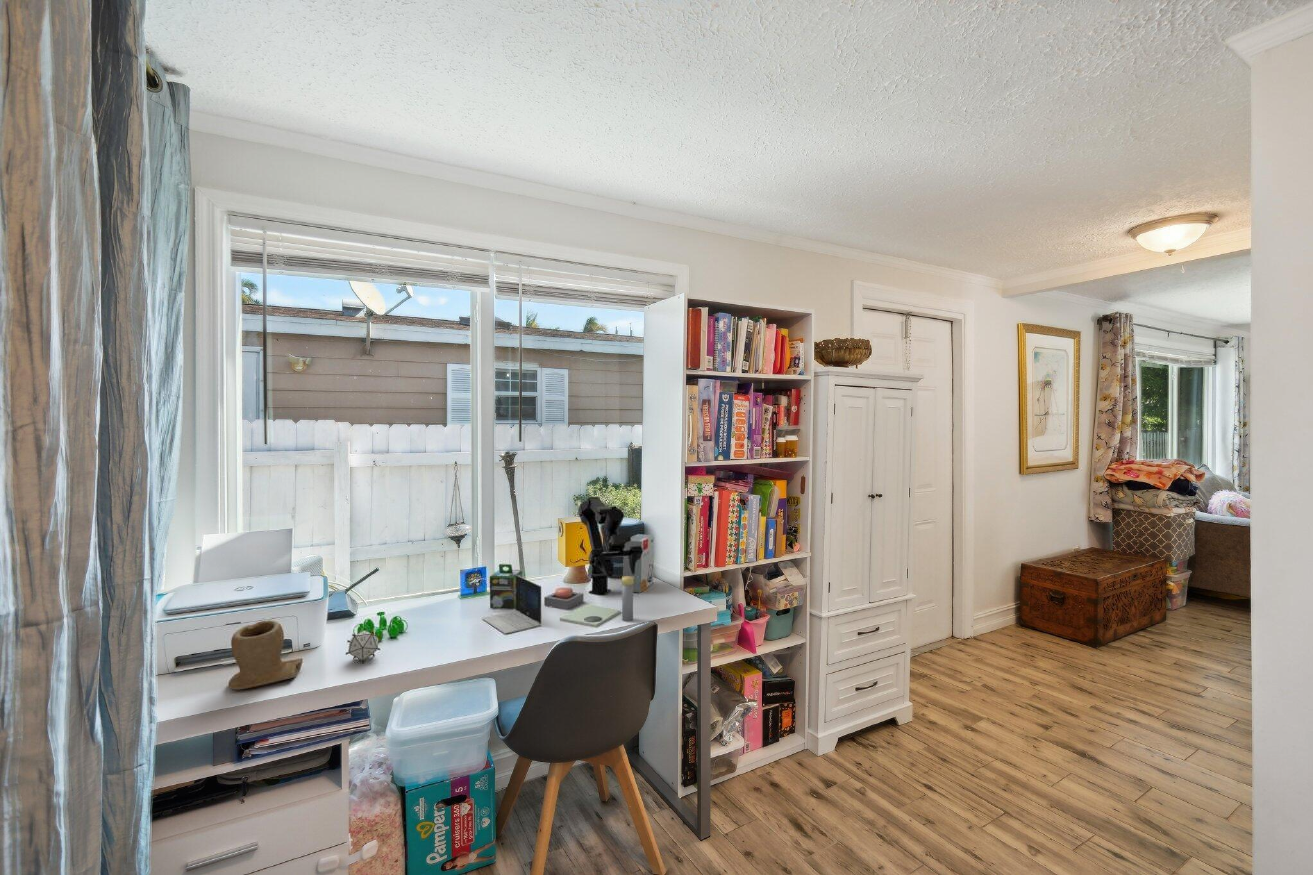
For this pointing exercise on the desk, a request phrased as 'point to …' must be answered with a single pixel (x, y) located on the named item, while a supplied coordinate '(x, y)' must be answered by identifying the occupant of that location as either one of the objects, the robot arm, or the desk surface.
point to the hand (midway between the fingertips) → (621, 575)
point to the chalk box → (503, 587)
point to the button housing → (563, 601)
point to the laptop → (520, 609)
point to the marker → (627, 598)
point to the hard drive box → (641, 562)
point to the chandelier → (383, 626)
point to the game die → (363, 645)
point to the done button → (564, 593)
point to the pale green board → (590, 615)
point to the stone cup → (261, 656)
